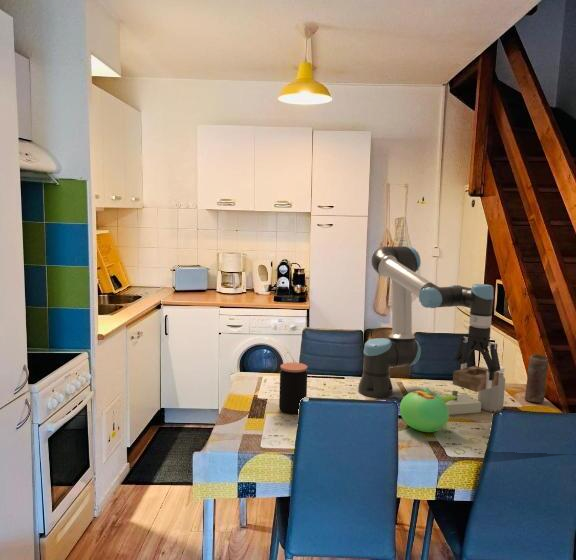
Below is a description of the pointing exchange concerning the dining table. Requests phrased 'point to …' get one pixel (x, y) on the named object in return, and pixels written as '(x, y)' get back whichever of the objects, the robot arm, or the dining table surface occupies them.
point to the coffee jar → (292, 387)
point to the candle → (536, 378)
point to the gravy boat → (425, 410)
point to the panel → (463, 404)
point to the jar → (493, 394)
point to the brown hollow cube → (473, 378)
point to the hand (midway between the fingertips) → (475, 384)
